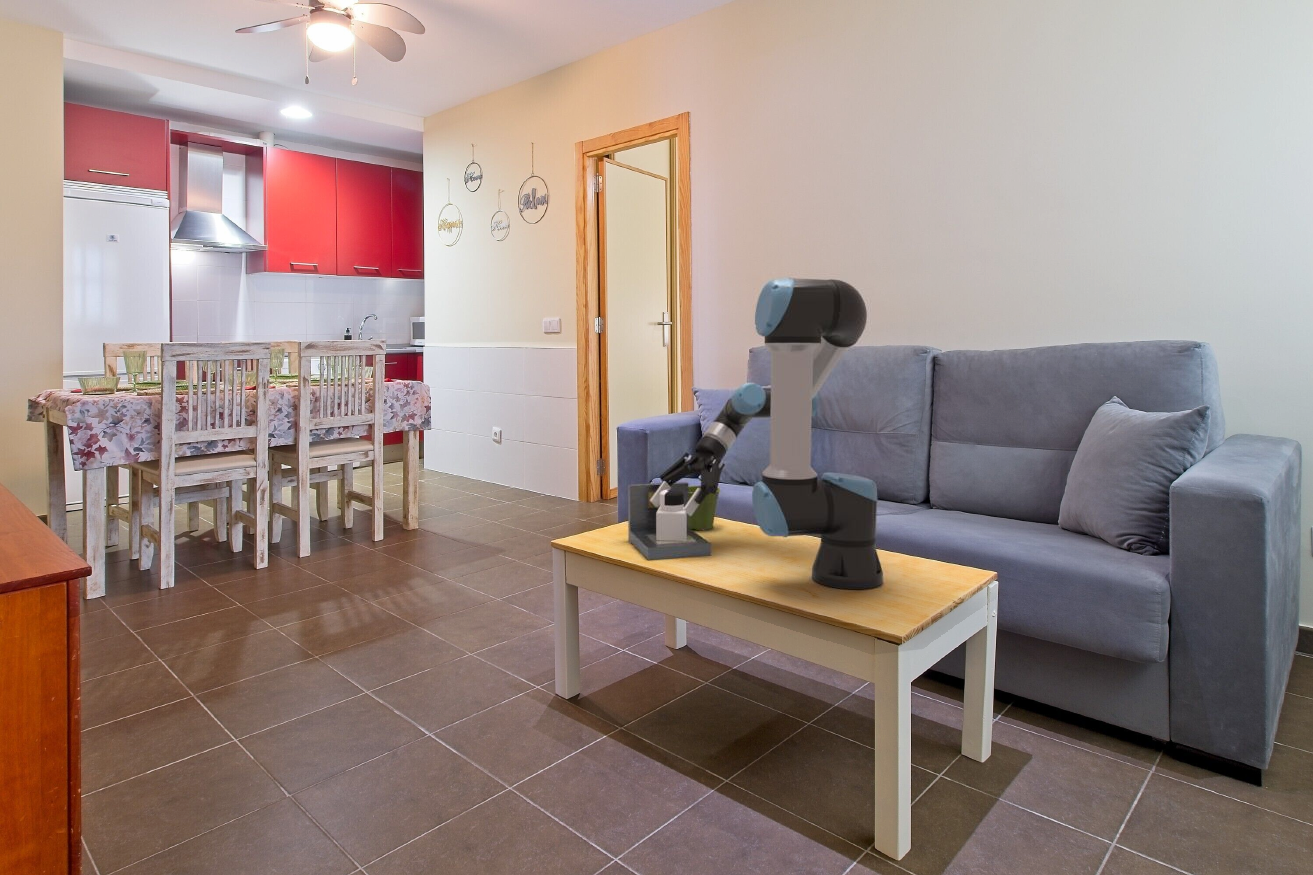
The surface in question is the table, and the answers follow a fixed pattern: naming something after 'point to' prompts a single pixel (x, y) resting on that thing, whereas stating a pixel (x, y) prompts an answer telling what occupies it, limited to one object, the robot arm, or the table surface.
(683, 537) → the medicine bottle
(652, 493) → the bookend
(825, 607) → the table surface
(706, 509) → the plant pot
